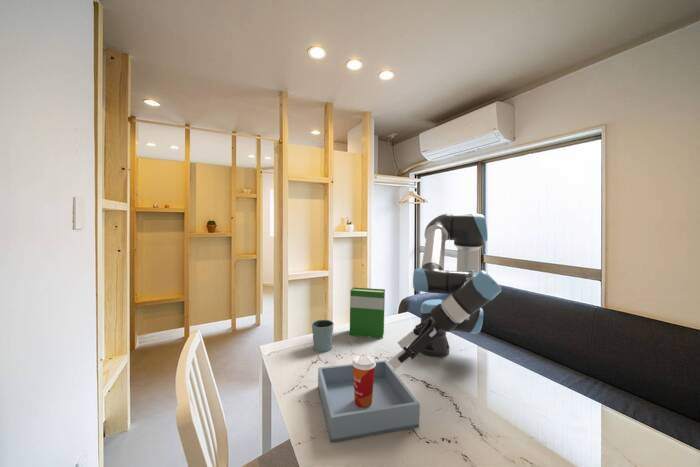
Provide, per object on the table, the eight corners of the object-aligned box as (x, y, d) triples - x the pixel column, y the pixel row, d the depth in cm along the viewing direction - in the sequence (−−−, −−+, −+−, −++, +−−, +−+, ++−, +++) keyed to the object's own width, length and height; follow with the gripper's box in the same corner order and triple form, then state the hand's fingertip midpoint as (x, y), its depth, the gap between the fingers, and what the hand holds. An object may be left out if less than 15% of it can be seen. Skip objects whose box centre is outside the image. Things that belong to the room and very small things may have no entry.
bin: (385, 378, 104) (386, 360, 104) (419, 427, 79) (419, 403, 79) (318, 386, 98) (318, 367, 97) (330, 443, 73) (331, 417, 72)
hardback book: (383, 332, 148) (384, 289, 148) (382, 338, 141) (384, 292, 140) (352, 330, 152) (352, 287, 151) (349, 335, 144) (350, 290, 144)
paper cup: (350, 394, 92) (351, 354, 91) (372, 394, 92) (373, 353, 92) (352, 410, 84) (353, 366, 83) (377, 409, 85) (378, 365, 84)
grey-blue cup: (337, 347, 130) (337, 322, 129) (324, 355, 121) (324, 329, 121) (320, 341, 135) (320, 318, 135) (306, 349, 127) (307, 324, 126)
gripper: (460, 341, 66) (396, 387, 72) (458, 311, 89) (410, 348, 95) (437, 316, 67) (377, 363, 73) (441, 293, 91) (396, 330, 97)
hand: (396, 354), depth 84 cm, fingers open, 13 cm apart
